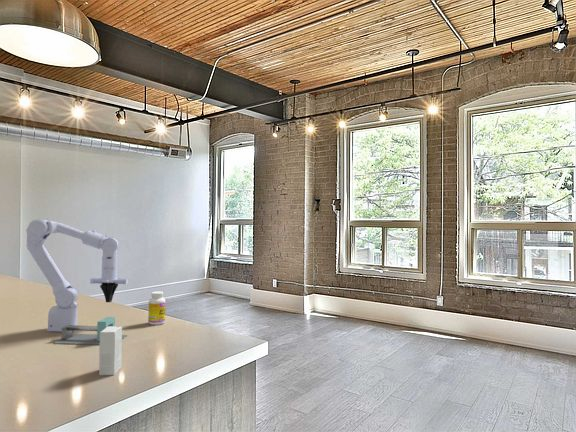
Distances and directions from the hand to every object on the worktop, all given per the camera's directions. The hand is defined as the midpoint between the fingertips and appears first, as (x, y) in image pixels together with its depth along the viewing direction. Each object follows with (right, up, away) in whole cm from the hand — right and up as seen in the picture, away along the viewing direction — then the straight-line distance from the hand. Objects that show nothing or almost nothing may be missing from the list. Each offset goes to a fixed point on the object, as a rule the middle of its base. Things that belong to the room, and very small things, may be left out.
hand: (108, 301), depth 156 cm
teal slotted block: (+7, -10, -17) cm, 21 cm away
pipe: (+2, -10, -17) cm, 20 cm away
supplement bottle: (+17, -11, +6) cm, 21 cm away
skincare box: (+21, -10, -46) cm, 52 cm away
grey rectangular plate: (+2, -10, -17) cm, 20 cm away
